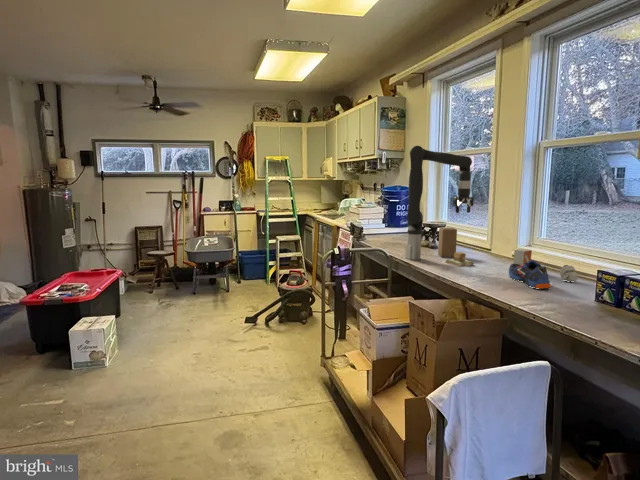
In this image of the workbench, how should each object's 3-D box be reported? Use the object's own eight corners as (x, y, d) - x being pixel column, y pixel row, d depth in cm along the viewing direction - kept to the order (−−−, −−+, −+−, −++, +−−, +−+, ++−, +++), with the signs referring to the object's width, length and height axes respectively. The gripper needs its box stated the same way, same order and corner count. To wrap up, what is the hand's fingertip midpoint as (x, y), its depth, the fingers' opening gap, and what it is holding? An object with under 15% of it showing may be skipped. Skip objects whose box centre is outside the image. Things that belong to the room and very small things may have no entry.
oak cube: (458, 261, 263) (459, 254, 262) (453, 260, 268) (454, 252, 267) (465, 261, 265) (465, 253, 264) (460, 259, 270) (460, 252, 269)
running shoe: (522, 275, 236) (524, 253, 235) (559, 290, 205) (562, 265, 203) (502, 275, 235) (503, 254, 233) (536, 291, 204) (538, 266, 202)
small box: (522, 273, 241) (524, 251, 239) (512, 271, 246) (514, 249, 244) (530, 271, 245) (532, 249, 243) (520, 269, 251) (521, 248, 249)
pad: (457, 266, 259) (457, 263, 259) (445, 262, 270) (445, 259, 270) (473, 265, 263) (473, 261, 263) (461, 261, 274) (461, 258, 274)
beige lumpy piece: (573, 284, 222) (566, 268, 228) (581, 279, 217) (573, 262, 222) (563, 285, 221) (556, 268, 227) (571, 279, 216) (564, 263, 221)
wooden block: (456, 257, 287) (457, 229, 284) (441, 257, 287) (442, 229, 284) (451, 255, 297) (453, 227, 294) (437, 254, 297) (439, 227, 294)
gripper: (458, 188, 263) (457, 213, 266) (477, 187, 268) (475, 212, 270) (451, 187, 270) (450, 212, 273) (469, 187, 275) (468, 212, 277)
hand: (462, 212), depth 272 cm, fingers open, 8 cm apart
